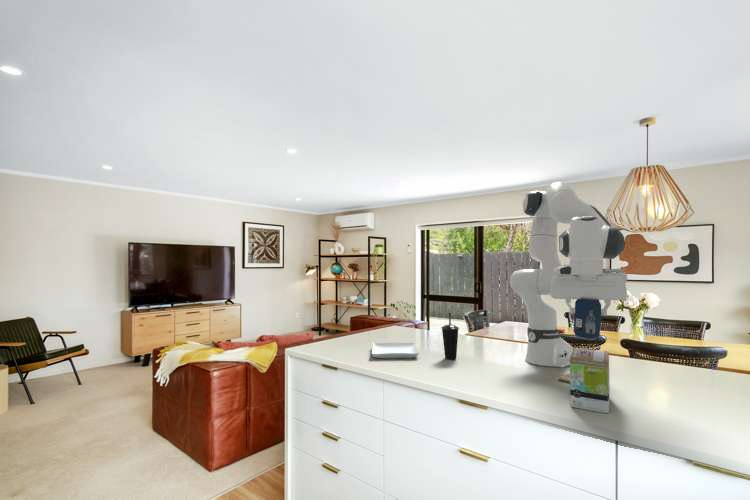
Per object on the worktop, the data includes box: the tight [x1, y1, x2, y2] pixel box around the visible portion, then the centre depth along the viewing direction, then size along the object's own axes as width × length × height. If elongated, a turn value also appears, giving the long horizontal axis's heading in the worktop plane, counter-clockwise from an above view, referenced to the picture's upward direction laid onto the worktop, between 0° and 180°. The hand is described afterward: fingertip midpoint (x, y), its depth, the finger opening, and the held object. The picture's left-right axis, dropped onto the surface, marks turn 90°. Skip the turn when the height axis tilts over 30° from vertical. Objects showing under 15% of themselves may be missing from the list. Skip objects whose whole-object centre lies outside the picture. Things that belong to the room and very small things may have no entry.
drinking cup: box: [441, 312, 460, 361], centre depth 167 cm, size 8×8×20 cm
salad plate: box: [371, 342, 420, 359], centre depth 177 cm, size 21×21×3 cm
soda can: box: [573, 298, 602, 340], centre depth 115 cm, size 7×7×12 cm
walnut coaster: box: [557, 372, 570, 384], centre depth 134 cm, size 10×10×1 cm
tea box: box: [569, 347, 611, 414], centre depth 114 cm, size 15×10×15 cm, turn 148°
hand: (587, 314), depth 115 cm, fingers closed on soda can, 7 cm apart
